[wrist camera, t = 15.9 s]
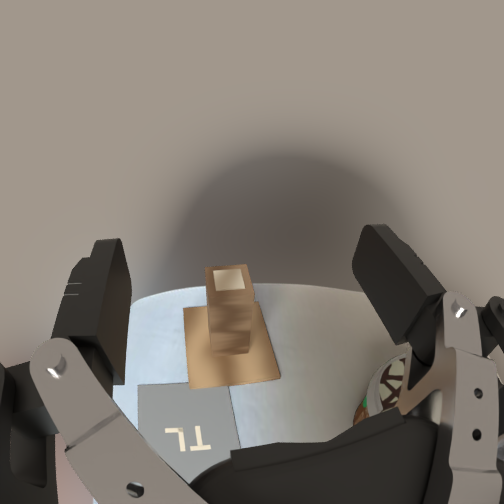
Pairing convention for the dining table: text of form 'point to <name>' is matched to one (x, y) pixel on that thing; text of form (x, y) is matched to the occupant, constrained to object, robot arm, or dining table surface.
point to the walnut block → (229, 309)
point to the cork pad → (232, 366)
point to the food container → (382, 389)
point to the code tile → (187, 425)
